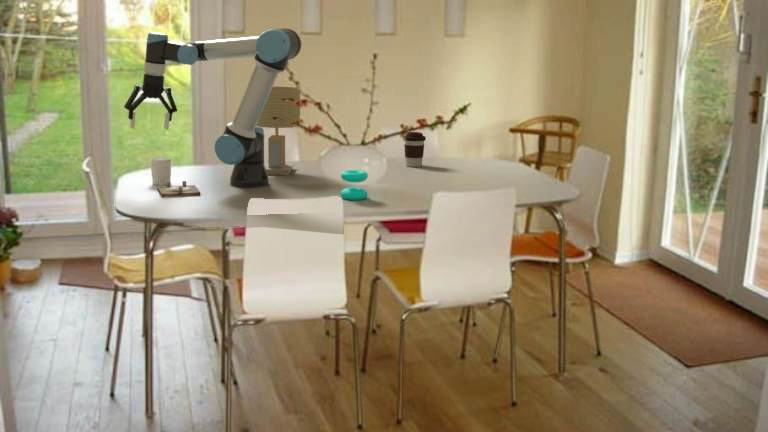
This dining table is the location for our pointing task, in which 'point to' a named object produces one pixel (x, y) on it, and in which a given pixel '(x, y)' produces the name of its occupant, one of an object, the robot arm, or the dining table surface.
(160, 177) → the white cup
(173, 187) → the pin board
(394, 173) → the dining table surface
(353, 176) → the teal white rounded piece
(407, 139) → the coffee cup
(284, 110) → the desk lamp
